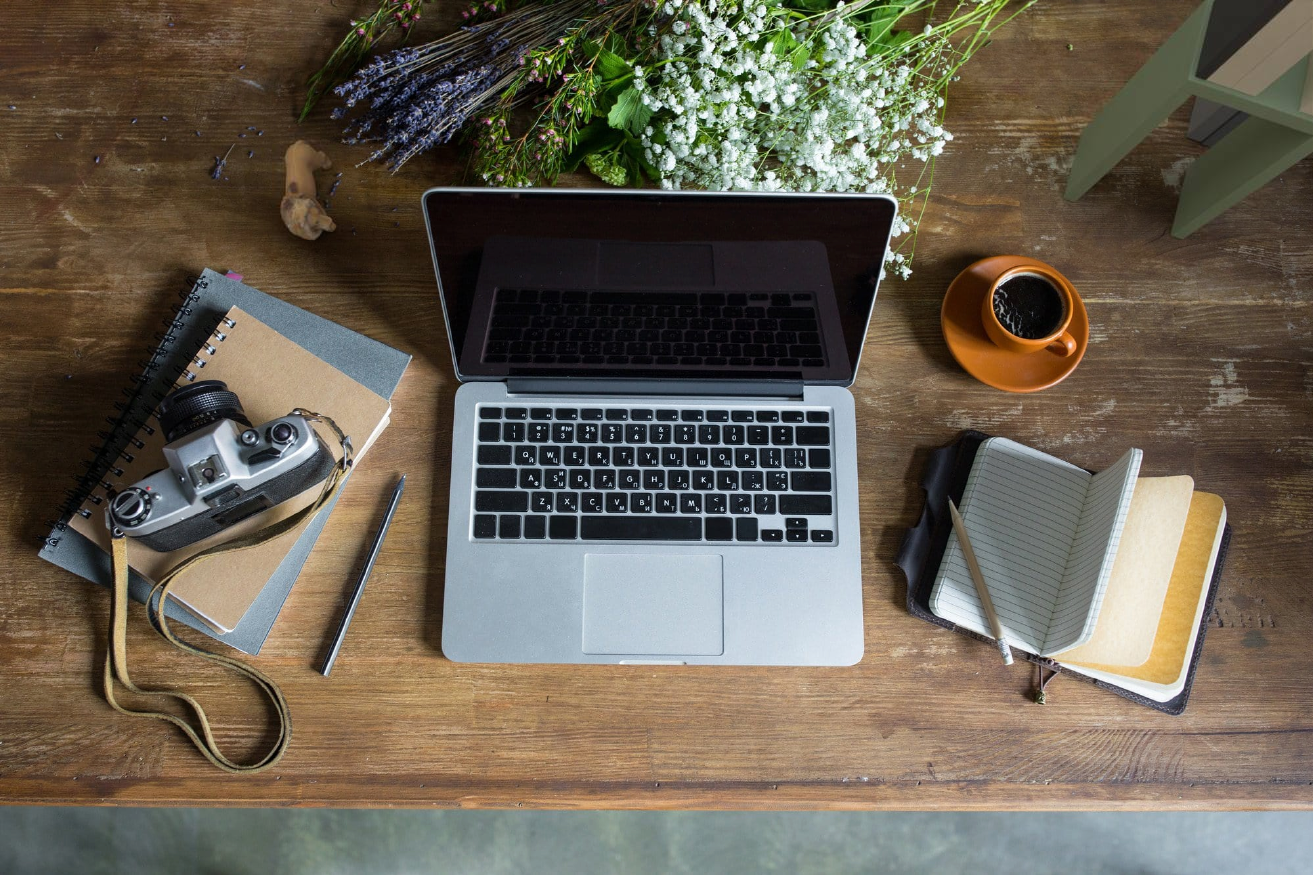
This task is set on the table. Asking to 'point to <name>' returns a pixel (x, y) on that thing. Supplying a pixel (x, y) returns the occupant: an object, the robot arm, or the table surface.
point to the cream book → (1308, 89)
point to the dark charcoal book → (1254, 42)
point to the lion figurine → (304, 192)
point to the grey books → (1213, 121)
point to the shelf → (1228, 165)
